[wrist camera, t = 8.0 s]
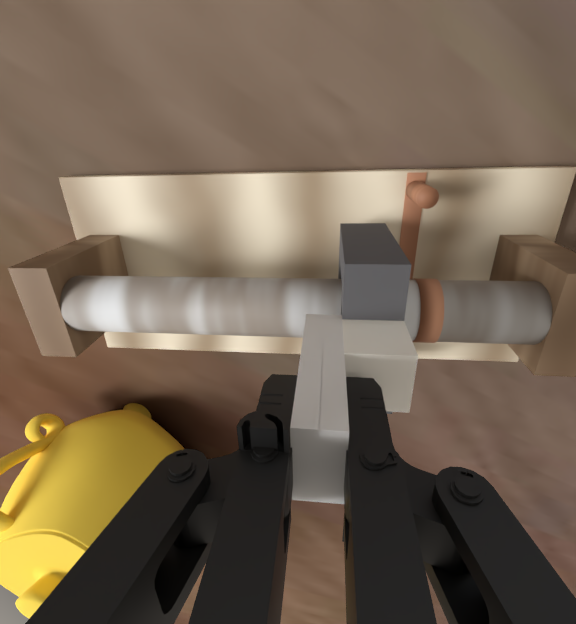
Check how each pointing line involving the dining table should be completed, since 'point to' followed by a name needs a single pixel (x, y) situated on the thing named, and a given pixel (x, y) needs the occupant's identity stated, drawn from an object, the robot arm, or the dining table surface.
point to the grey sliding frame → (376, 311)
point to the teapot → (71, 493)
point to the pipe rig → (308, 261)
